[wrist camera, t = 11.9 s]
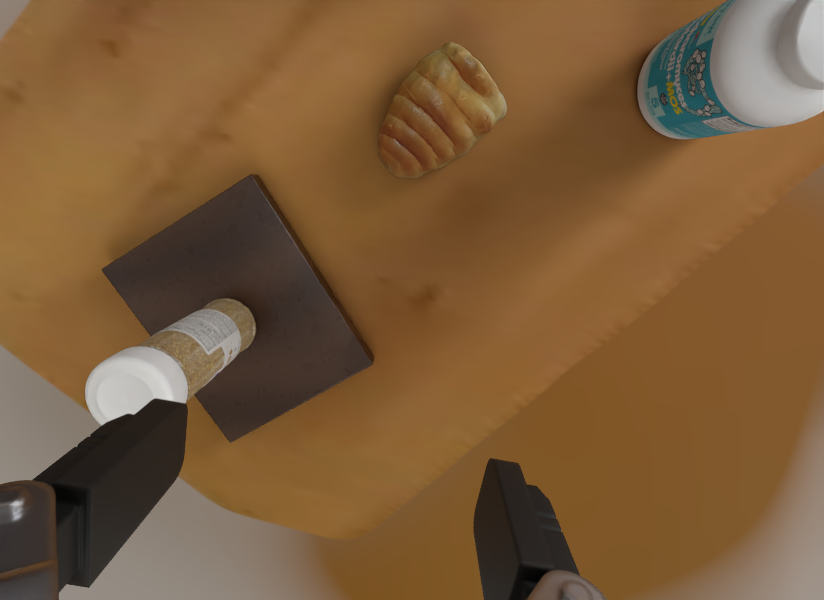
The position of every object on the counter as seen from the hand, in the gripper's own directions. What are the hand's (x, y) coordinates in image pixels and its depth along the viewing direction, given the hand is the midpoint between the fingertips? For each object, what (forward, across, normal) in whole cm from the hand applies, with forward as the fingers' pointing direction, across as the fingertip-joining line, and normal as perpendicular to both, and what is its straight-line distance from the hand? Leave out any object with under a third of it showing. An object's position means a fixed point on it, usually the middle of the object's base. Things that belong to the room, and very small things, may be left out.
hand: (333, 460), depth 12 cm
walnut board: (+26, +11, +6) cm, 28 cm away
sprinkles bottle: (+24, +12, +6) cm, 28 cm away
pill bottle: (+26, -18, -17) cm, 36 cm away
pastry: (+26, -2, -12) cm, 29 cm away
